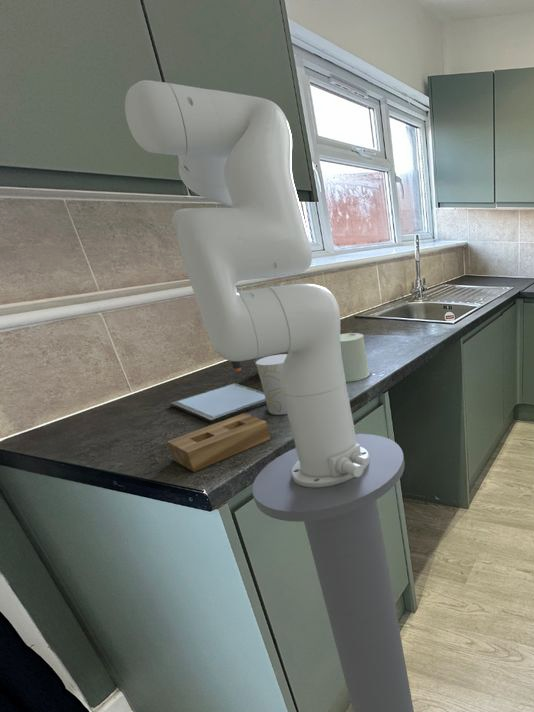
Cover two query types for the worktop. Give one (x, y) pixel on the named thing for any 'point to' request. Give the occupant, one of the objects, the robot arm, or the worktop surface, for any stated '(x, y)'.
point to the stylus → (236, 365)
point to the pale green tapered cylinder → (354, 356)
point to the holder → (218, 441)
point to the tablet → (221, 402)
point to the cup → (272, 382)
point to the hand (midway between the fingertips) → (231, 345)
